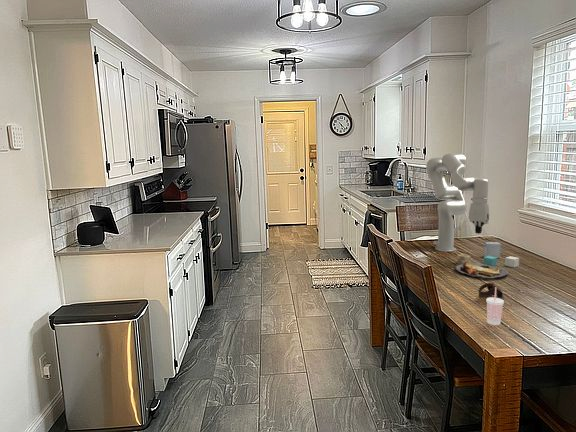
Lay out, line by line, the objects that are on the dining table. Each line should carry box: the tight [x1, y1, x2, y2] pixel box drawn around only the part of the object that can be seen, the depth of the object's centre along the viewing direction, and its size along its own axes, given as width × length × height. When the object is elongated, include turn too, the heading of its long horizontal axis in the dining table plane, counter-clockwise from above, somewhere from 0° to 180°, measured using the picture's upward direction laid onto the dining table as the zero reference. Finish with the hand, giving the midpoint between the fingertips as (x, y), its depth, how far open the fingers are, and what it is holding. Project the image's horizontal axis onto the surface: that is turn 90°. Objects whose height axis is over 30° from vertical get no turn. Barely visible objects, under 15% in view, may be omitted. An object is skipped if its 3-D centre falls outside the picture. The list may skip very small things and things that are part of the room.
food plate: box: [454, 262, 509, 279], centre depth 227 cm, size 25×23×4 cm
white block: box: [504, 255, 520, 268], centre depth 239 cm, size 5×5×4 cm
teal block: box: [482, 256, 498, 267], centre depth 241 cm, size 5×5×4 cm
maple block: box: [456, 253, 471, 265], centre depth 245 cm, size 5×5×4 cm
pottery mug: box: [478, 282, 505, 301], centre depth 190 cm, size 12×10×8 cm
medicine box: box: [483, 241, 502, 259], centre depth 256 cm, size 8×4×9 cm, turn 84°
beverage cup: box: [486, 286, 505, 326], centre depth 164 cm, size 6×6×14 cm
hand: (478, 233), depth 245 cm, fingers closed
